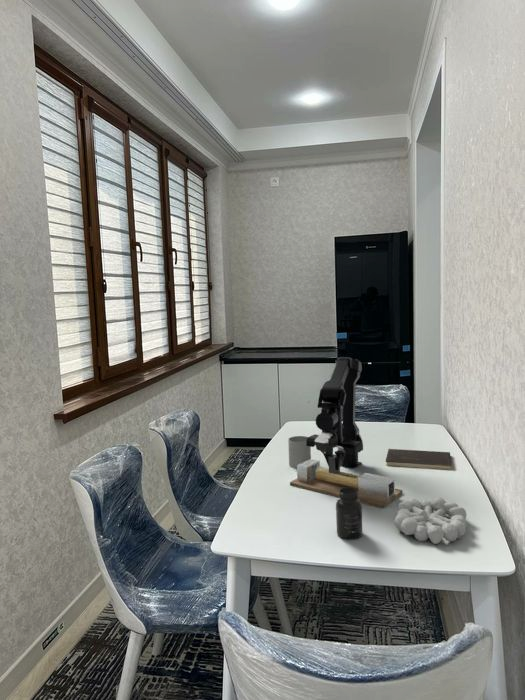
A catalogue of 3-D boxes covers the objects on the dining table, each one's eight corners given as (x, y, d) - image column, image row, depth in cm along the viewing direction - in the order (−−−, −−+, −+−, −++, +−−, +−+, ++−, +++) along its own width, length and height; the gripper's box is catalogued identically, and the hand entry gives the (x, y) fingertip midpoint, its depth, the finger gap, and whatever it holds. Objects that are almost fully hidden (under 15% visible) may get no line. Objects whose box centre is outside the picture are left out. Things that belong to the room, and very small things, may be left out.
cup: (313, 462, 194) (312, 436, 193) (308, 469, 186) (307, 442, 185) (292, 460, 197) (291, 435, 196) (286, 467, 189) (285, 441, 188)
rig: (310, 473, 179) (309, 458, 179) (396, 492, 159) (396, 476, 158) (297, 480, 173) (296, 465, 172) (385, 501, 153) (385, 484, 152)
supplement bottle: (334, 529, 138) (333, 486, 136) (358, 527, 138) (357, 485, 137) (339, 541, 131) (338, 496, 130) (365, 539, 131) (365, 494, 130)
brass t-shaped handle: (320, 475, 173) (319, 451, 173) (381, 489, 159) (380, 463, 158) (315, 478, 171) (315, 453, 170) (376, 492, 157) (376, 465, 156)
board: (312, 472, 182) (312, 470, 182) (402, 493, 161) (402, 490, 161) (289, 484, 171) (289, 482, 171) (382, 508, 150) (382, 505, 150)
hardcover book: (451, 471, 180) (451, 465, 180) (385, 466, 187) (385, 460, 187) (449, 457, 195) (449, 451, 195) (388, 453, 202) (388, 448, 202)
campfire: (491, 542, 128) (490, 520, 127) (412, 552, 124) (412, 529, 124) (446, 508, 149) (445, 489, 149) (378, 516, 146) (377, 497, 146)
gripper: (295, 424, 166) (297, 471, 167) (346, 432, 154) (347, 482, 156) (314, 417, 174) (315, 461, 176) (363, 424, 163) (364, 471, 164)
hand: (334, 469), depth 168 cm, fingers closed on brass t-shaped handle, 2 cm apart
